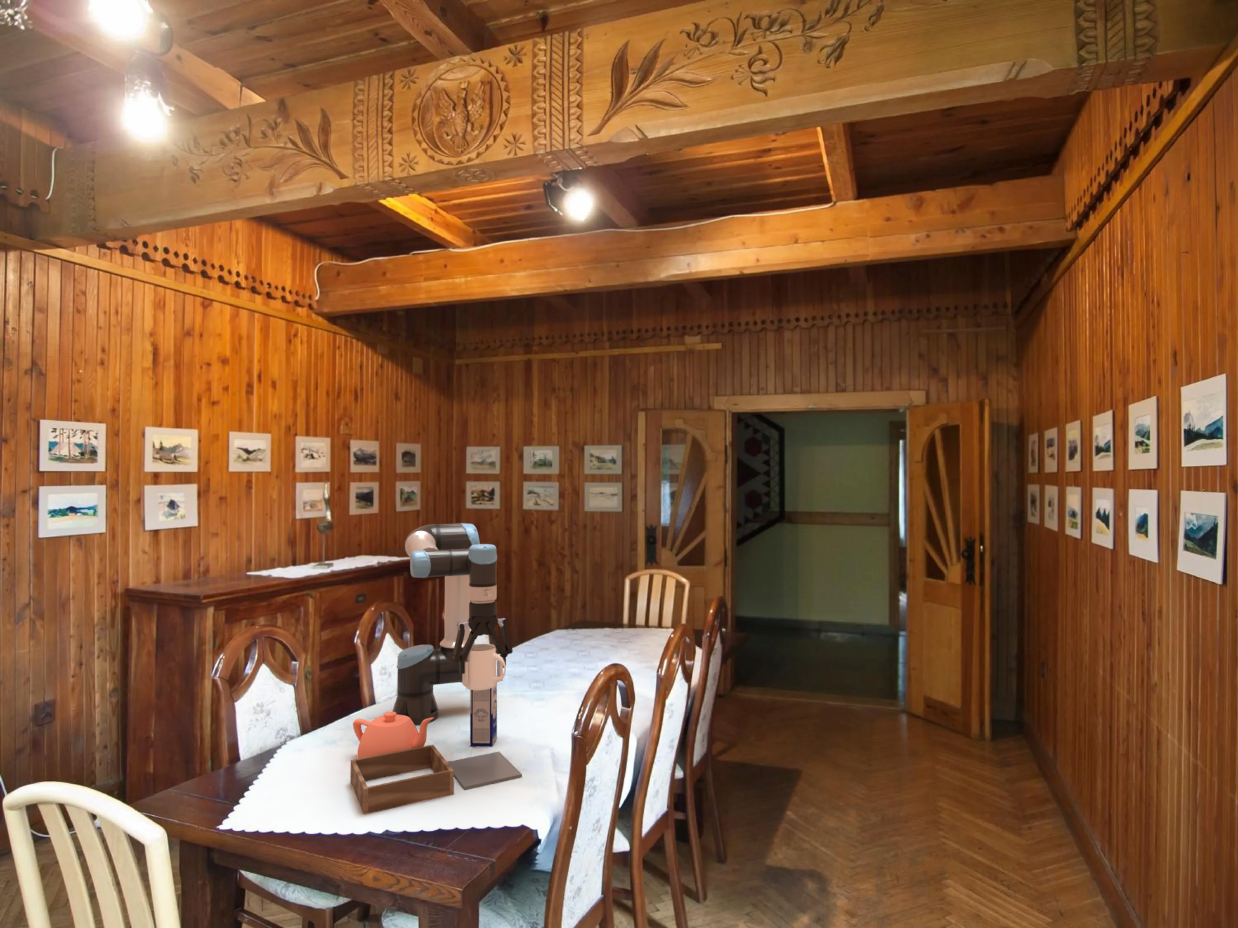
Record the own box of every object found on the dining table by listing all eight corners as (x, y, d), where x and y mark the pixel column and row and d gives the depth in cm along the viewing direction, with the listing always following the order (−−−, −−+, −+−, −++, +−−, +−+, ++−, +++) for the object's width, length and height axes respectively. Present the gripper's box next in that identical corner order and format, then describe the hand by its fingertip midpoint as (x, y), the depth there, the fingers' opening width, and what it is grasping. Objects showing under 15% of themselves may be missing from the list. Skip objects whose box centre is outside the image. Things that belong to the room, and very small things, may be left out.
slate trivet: (444, 764, 202) (444, 762, 202) (499, 753, 209) (499, 751, 209) (464, 789, 186) (464, 786, 186) (522, 776, 194) (522, 773, 194)
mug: (498, 693, 192) (498, 653, 192) (458, 689, 196) (458, 649, 196) (512, 684, 201) (512, 645, 201) (474, 680, 204) (474, 642, 204)
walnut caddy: (350, 782, 190) (350, 759, 190) (433, 765, 201) (433, 744, 201) (363, 814, 173) (363, 789, 173) (453, 793, 184) (453, 770, 184)
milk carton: (475, 737, 222) (475, 673, 222) (497, 738, 222) (497, 673, 222) (469, 746, 215) (470, 679, 215) (492, 746, 215) (492, 679, 215)
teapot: (446, 752, 211) (446, 706, 211) (419, 775, 195) (419, 726, 195) (368, 745, 216) (369, 700, 216) (336, 768, 200) (336, 719, 200)
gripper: (447, 606, 189) (447, 691, 189) (525, 599, 200) (525, 680, 200) (439, 602, 196) (439, 684, 196) (515, 595, 207) (515, 673, 206)
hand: (482, 682), depth 198 cm, fingers closed on mug, 9 cm apart
